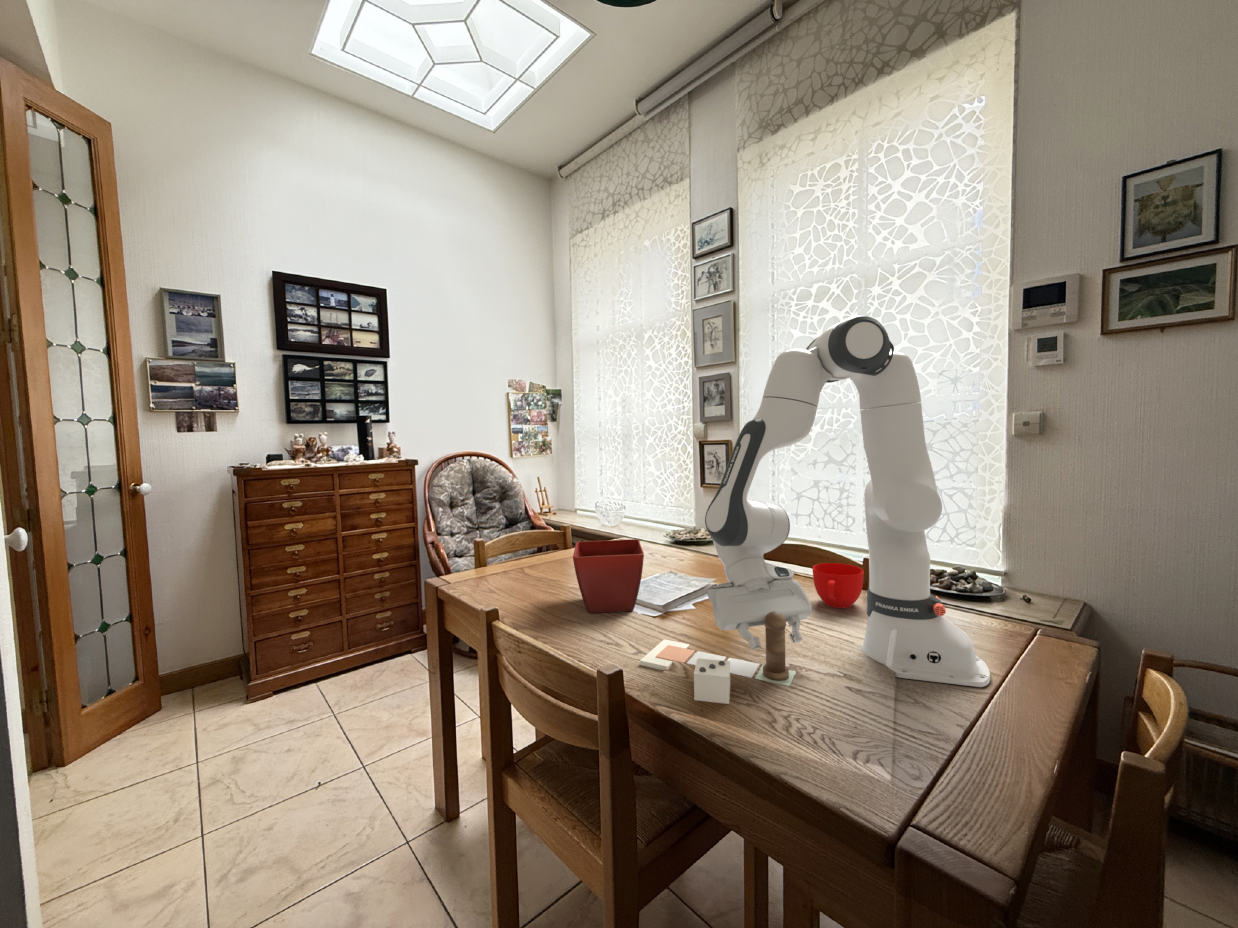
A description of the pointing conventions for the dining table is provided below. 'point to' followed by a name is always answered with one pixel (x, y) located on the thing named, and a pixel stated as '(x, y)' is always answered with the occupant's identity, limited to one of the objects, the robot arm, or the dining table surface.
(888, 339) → the robot arm
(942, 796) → the dining table surface
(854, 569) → the ceramic cup
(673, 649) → the game board
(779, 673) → the pawn
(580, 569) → the plant pot
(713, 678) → the die
